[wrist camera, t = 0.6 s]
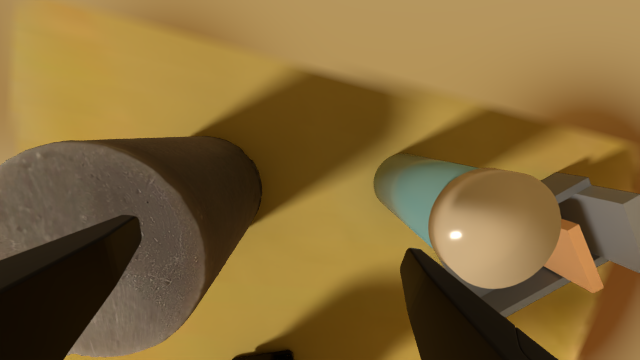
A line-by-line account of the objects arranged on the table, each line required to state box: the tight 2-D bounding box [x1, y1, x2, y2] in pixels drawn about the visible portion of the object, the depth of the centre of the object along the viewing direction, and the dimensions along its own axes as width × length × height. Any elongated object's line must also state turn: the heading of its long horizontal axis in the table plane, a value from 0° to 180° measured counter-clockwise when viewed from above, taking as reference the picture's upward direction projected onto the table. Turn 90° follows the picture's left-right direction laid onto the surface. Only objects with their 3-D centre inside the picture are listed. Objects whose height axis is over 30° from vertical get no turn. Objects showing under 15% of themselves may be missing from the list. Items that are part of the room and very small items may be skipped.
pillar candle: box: [0, 136, 262, 357], centre depth 17 cm, size 10×10×15 cm
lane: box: [439, 172, 640, 318], centre depth 24 cm, size 14×9×6 cm, turn 120°
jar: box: [374, 153, 561, 289], centre depth 19 cm, size 6×6×13 cm
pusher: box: [544, 219, 604, 293], centre depth 24 cm, size 1×6×5 cm, turn 30°
